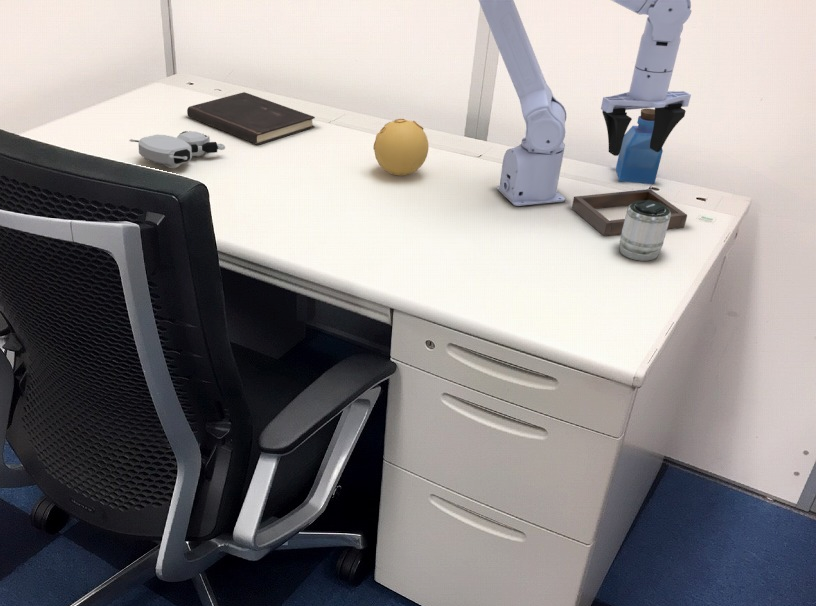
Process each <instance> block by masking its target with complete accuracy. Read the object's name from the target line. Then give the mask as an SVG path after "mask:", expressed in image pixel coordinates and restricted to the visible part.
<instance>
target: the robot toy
mask: <svg viewBox="0 0 816 606" xmlns="http://www.w3.org/2000/svg"><path fill="white" fill-rule="evenodd" d="M129 142H131V143H137V144H138V154H139V156H141V157H142V158H143V159H144V160H147V161H149V162H151V163H154V164H157V165H163V166H166V167H167V168H169V169H177V168H178V167H180V166H181V165H182V164H185V163H189V162H190V161H191V159H192V158H193V157H197V158H198V157H202V156H204V154H205V153H207V154H213V153H218V150H220V151H223V150H225V149H226V145H225V144H223V143H218V142H216V141H211V139H210V136H209V135H206V134H204V133H201V132H198V131H192V130H189V131H187V130H185V131H182V132H181V133H179V134H178V135H177V136H172V135H166V134H153V135H148V136H143V137H141V138H140V139H139V140H138V139H132V138H130V139H129Z"/></svg>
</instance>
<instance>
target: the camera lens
mask: <svg viewBox="0 0 816 606" xmlns="http://www.w3.org/2000/svg"><path fill="white" fill-rule="evenodd" d="M670 217H671V212H670V210H669V208H668V207H666V206H665V205H663V204H661V203H659V202H656V201H651V200H647V201H645V200H644V201H636V202H634V203H632V204H631V205H628V206H627V209H626V214H625V217H624V219H625V221H624V225H623V229H622V234H620V237H619V252H620V254H621V255H623V256H624V257H626V258H628V259H629V260H630V259H631V260H634V261H640V262H646V261H648V262H649V261H653V260H655V259H657V257H658V256H659V254H660V252H661V251H662V248H663V246H664V241H665V238H666V236H667V235H666V234H667V231H668V229H667V228H668V224H669V221H670Z"/></svg>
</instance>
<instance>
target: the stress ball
mask: <svg viewBox="0 0 816 606" xmlns="http://www.w3.org/2000/svg"><path fill="white" fill-rule="evenodd" d="M424 129H425V128H424V127H423V126H422V125H420V124H418V122H417V121H415V120H413V121H412V120H409V119H405V118H397V119H394V120H393V121H388V122H387V123H386V124H384V126H383V127H381V129H380V131H379V132H377V133H376V136H375V139H374V142H373V150H374V156H375V159H376V161H377V163H378V165H379V166H380V167H381V168H382V169H383V170H384V171H385V172H387V173H389V174H391V175H394V176H407V175H411V174H413V173H415V172H416V171H417V170H418V169H420V168H421V167H422V166H423V165H424V163H425V162H426V160H427V157H428V154H429V140H428V135H427V134H426V132H425V131H424Z"/></svg>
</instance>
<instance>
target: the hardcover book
mask: <svg viewBox="0 0 816 606" xmlns="http://www.w3.org/2000/svg"><path fill="white" fill-rule="evenodd" d="M186 113H187V117H188V118H190V119H192V120H196V121H198V122H201V123H203V124H206V125H208V126H210V127H212V128H214V129H215V128H216V129H218V130H221V131H222V132H225V133H228V134H231V135H233V136H235V137H238V138H240V139H243V140H245V141H247V142H249V143H252V144H255V145H257V146H260V145H263V144H266V143H270V142H273V141H275V140H279V139H282V138H286V137H289V136H292V135H295V134H298V133H301V132H305V131H308V130H311V129H315V128H316V126H315V125H313V120H314V119H316V117H315V116H313V115H311V114H308V113H306V112H302V111H300V110H297V109H294V108H290V107H288V106H285V105H282V104H279V103H276V102H274V101H271V100H268V99H265V98H262V97H259V96H256V95H254V94H251V93H248V92H246V91H243V92H240V93H239V92H238V93H235V94H232V95H228V96H224V97H220V98H218V99H217V98H216V99H213V100H209V101H206V102H205V101H204V102H201V103H197V104H193V105H190V106H188V107H187V109H186Z"/></svg>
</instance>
